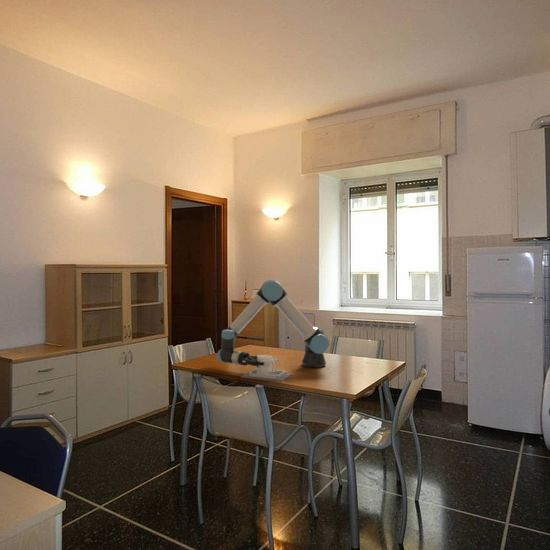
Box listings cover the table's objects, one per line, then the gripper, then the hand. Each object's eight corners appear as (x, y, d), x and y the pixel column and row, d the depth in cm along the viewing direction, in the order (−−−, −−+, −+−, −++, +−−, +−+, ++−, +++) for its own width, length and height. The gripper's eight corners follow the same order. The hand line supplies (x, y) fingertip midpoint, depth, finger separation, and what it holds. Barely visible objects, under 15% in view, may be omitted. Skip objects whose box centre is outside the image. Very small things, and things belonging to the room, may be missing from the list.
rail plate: (292, 374, 255) (292, 370, 255) (281, 382, 238) (282, 377, 238) (253, 370, 263) (253, 366, 263) (241, 377, 246) (241, 373, 246)
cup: (264, 372, 257) (264, 354, 257) (279, 375, 249) (279, 357, 249) (253, 374, 251) (254, 356, 251) (269, 377, 243) (269, 359, 243)
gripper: (251, 361, 269) (283, 366, 258) (229, 368, 250) (263, 373, 239) (251, 349, 269) (284, 353, 258) (229, 354, 250) (263, 359, 239)
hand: (274, 362), depth 248 cm, fingers open, 10 cm apart
